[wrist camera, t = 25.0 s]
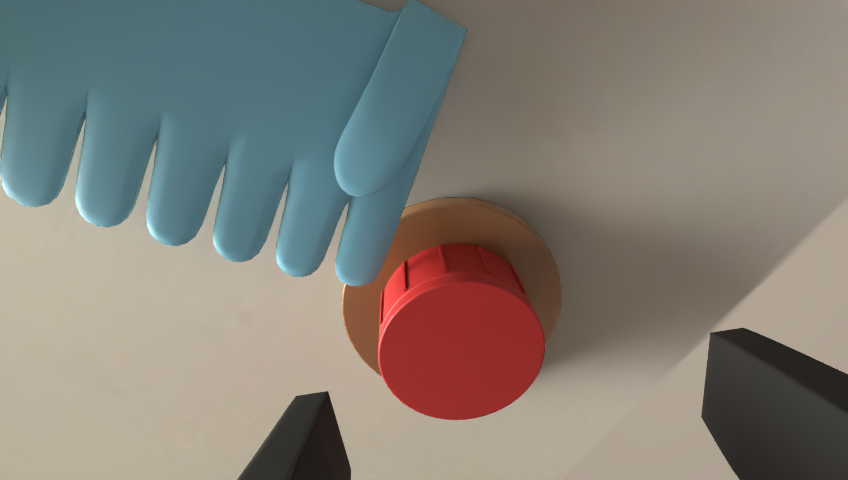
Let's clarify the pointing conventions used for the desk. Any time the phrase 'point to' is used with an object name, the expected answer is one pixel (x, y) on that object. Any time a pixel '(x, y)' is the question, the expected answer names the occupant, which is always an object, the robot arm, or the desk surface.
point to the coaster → (455, 226)
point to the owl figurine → (227, 117)
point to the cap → (458, 333)
